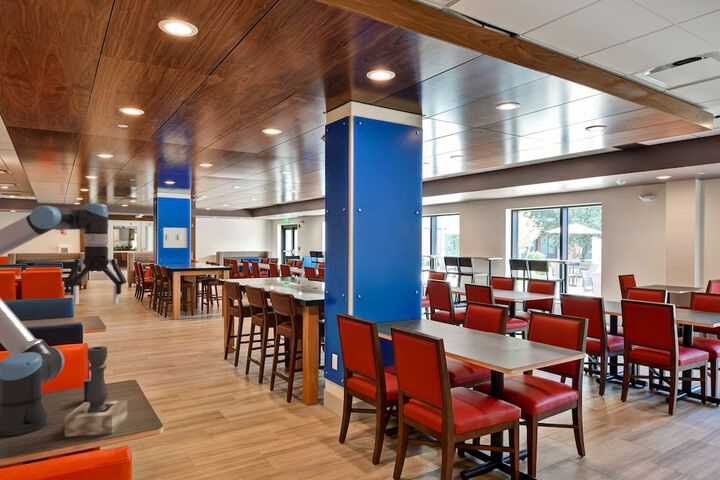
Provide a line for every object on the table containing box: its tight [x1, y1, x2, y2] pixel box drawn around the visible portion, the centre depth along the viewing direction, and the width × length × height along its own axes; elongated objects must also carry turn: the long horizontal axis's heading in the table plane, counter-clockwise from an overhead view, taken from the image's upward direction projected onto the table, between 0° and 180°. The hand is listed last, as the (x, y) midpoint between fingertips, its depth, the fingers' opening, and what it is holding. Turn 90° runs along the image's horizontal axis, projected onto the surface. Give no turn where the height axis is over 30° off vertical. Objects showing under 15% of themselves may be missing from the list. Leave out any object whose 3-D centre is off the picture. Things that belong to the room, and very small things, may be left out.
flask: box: [83, 377, 91, 403], centre depth 180 cm, size 9×3×11 cm, turn 1°
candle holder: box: [87, 345, 109, 413], centre depth 155 cm, size 6×6×25 cm
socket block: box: [64, 399, 128, 437], centre depth 155 cm, size 14×14×6 cm
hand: (96, 303), depth 171 cm, fingers open, 13 cm apart
